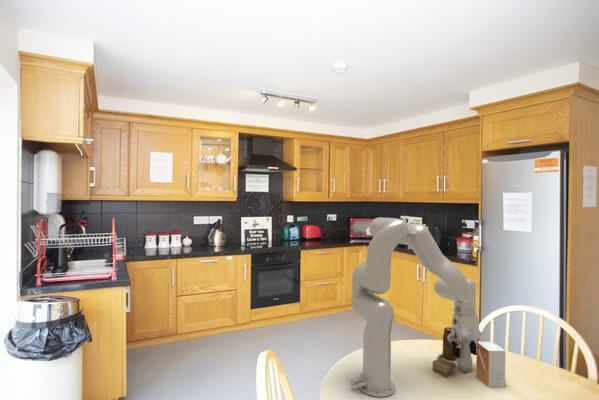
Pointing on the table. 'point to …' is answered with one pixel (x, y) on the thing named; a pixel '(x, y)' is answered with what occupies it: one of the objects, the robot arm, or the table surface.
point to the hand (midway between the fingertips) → (464, 355)
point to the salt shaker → (465, 357)
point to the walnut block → (444, 367)
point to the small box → (490, 364)
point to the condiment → (447, 347)
